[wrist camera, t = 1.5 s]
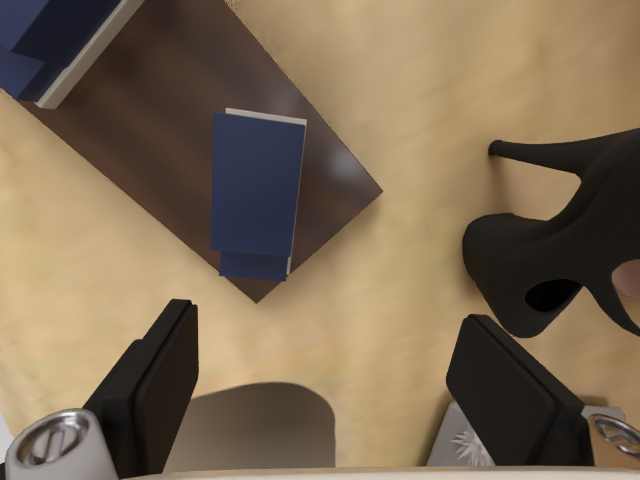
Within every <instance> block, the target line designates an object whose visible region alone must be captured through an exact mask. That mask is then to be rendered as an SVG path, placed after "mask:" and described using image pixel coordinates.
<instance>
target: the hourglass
mask: <svg viewBox="0 0 640 480" xmlns="http://www.w3.org/2000/svg"><path fill="white" fill-rule="evenodd" d="M612 283H613V285H614V286H615V289H616V292H617V293H619V294H622V295H625V296H628V297H632V298H635V299H639V300H640V259H636V260H632V261H628V262H625V263H623V264H621V265H620V266H619V267H617V268H616V269H615V270H614V272H613V273H612Z"/></svg>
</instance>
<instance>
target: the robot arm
mask: <svg viewBox="0 0 640 480" xmlns="http://www.w3.org/2000/svg"><path fill="white" fill-rule="evenodd" d="M198 373H199V361H198V308H197V305H193V304H192V302H191V300H183V299H172V300H171V301H170V302H169V303H168V305H167V306H166V307H165V309H164V310H163V312H162V313H161V314H160V316H159V317H158V318H157V320H156V321H155V322H154V324H153V325H152V327H151V328H150V329H149V331H148V332H147V333H146V335H145V336H144V337H143V339H137V340H135V341H134V342H133V343H132V344H131V345H130V346H129V347H128V349H127V350H126V351H125V353H124V354H123V355H122V356H121V358H120V359H119V360H118V362H117V363H116V364H115V366H114V367H113V368H112V369H111V371H110V372H109V373H108V375H107V376H106V377H105V379H104V380H103V381H102V382H101V384H100V385H99V386H98V388H97V389H96V390H95V392H94V393H93V394H92V395H91V397H90V398H89V399H88V401H87V402H86V403H85V405H84V406H83V407H82V408H81V409H80V408H73V409H66V410H61V411H58V412H55V413H52V414H50V415H48V416H46V417H44V418H42V419H40V420H38V421H36V422H34V423H33V424H32V425H30V426H29V427H27V428H26V429H24V430H23V431H22V432H21V433H20V434H19V435H18V436H17V437H16V438H15V439H14V440H13V442H12V443H11V445H10V447H9V448H8V450H7V453H6V457H5V462H4V463H2V464H0V480H640V431H638V430H637V429H635V428H634V427H632V426H630V425H629V424H627V423H625V422H623V421H621V420H619V419H617V418H614V417H611V416H608V415H604V414H599V413H598V414H591V415H590V416H588V418H587V419H586V418H585V417H584V416H582V415H581V413H582V411H583V409H584V407H585V404H584V403H583V402H582V401H581V400H580V399H579V398H578V397H576V396H575V395H574V394H573V393H572V392H571V391H570V390H569V389H568V388H567V387H565V386H564V385H563V384H562V383H561V382H560V381H559V380H558V379H557V378H556V377H555V376H553V375H552V374H551V373H550V372H549V371H548V370H547V369H546V368H545V367H544V366H543V365H541V364H540V363H539V362H538V361H537V360H536V359H535V358H534V357H533V356H532V355H531V354H529V353H528V352H527V351H526V350H525V349H524V348H523V347H522V346H521V345H520V344H519V343H517V342H516V341H515V340H514V339H513V338H512V337H511V336H510V335H509V334H508V333H506V332H505V331H504V330H503V329H502V328H501V327H500V326H499V325H498V324H497V323H496V322H494V321H493V320H492V319H491V318H490V317H489V316H487V315H479V314H470V315H468V316H467V318H464V320H463V322H462V325H461V328H460V332H459V335H458V338H457V342H456V345H455V349H454V352H453V355H452V359H451V362H450V366H449V369H448V372H447V376H446V384H447V387H448V389H449V391H450V392H451V394H452V396H453V397H454V399H455V401H456V402H457V404H458V405H459V407H460V409H461V410H462V412H463V413H464V415H465V417H466V418H467V420H468V422H469V423H470V425H471V426H472V428H473V430H474V431H475V433H476V434H477V436H478V438H479V439H480V441H481V443H482V444H483V446H484V447H485V449H486V451H487V452H488V454H489V455H490V457H491V459H492V460H493V462H494V464H495V465H496V466H432V467H351V468H303V469H302V468H299V469H248V470H221V471H194V472H179V473H166V474H162V472H163V469H164V466H165V464H166V461H167V459H168V456H169V454H170V451H171V448H172V446H173V443H174V441H175V438H176V435H177V433H178V430H179V428H180V425H181V422H182V420H183V417H184V415H185V411H186V409H187V407H188V404H189V401H190V399H191V396H192V394H193V391H194V388H195V386H196V383H197V379H198Z"/></svg>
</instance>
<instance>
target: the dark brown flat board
mask: <svg viewBox="0 0 640 480" xmlns="http://www.w3.org/2000/svg"><path fill="white" fill-rule="evenodd" d="M3 90H4V89H3ZM4 91H5V90H4ZM9 95H10V94H9ZM10 96H11V95H10ZM11 97H12V96H11ZM15 100H16V99H15ZM16 101H17V102H19V103H20V104H21V105H22V106H23V107H25V108H26V109H27V110H28V111H29V112H30V113H32V114H33V115H34V116H35V117H36V118H38V119H39V120H40V121H41V122H42V123H43V124H45V125H46V126H47V127H48V128H49V129H51V130H52V131H53V132H54V133H55V134H56V135H58V136H59V137H60V138H61V139H62V140H64V141H65V142H66V143H67V144H68V145H69V146H71V147H72V148H73V149H74V150H75V151H77V152H78V153H79V154H80V155H81V156H82V157H84V158H85V159H86V160H87V161H88V162H90V163H91V164H92V165H93V166H94V167H95V168H97V169H98V170H99V171H100V172H101V173H103V174H104V175H105V176H106V177H107V178H108V179H110V180H111V181H112V182H113V183H114V184H116V185H117V186H118V187H119V188H120V189H121V190H123V191H124V192H125V193H126V194H127V195H129V196H130V197H131V198H132V199H133V200H134V201H136V202H137V203H138V204H139V205H140V206H142V207H143V208H144V209H145V210H146V211H147V212H149V213H150V214H151V215H152V216H153V217H155V218H156V219H157V220H158V221H159V222H160V223H162V224H163V225H164V226H165V227H166V228H168V229H169V230H170V231H171V232H172V233H173V234H175V235H176V236H177V237H178V238H179V239H181V240H182V241H183V242H184V243H185V244H186V245H188V246H189V247H190V248H191V249H192V250H194V251H195V252H196V253H197V254H198V255H199V256H201V257H202V258H203V259H204V260H205V261H207V262H208V263H209V264H210V265H211V266H212V267H214V268H215V269H216V270H217V271H218V272H219V268H220V251H218V250H211V249H210V248H211V204H212V160H213V117H214V112H221V113H226V108H231V109H237V110H244V111H251V112H258V113H264V114H271V115H278V116H284V117H291V118H298V119H305V120H307V123H306V132H305V140H304V149H303V158H302V167H301V176H300V185H299V193H298V202H297V211H296V220H295V229H294V237H293V246H292V255H291V264H290V273H289V275H290V274H291V273H292V272H293V271H294V270H295V269H296V268H298V267H299V266H300V265H301V264H302V263H303V262H304V261H306V260H307V259H308V258H309V257H310V256H311V255H312V254H313V253H315V252H316V251H317V250H318V249H319V248H320V247H321V246H323V245H324V244H325V243H326V242H327V241H328V240H329V239H330V238H332V237H333V236H334V235H335V234H336V233H337V232H338V231H339V230H341V229H342V228H343V227H344V226H345V225H346V224H347V223H349V222H350V221H351V220H352V219H353V218H354V217H355V216H356V215H358V214H359V213H360V212H361V211H362V210H363V209H364V208H366V207H367V206H368V205H369V204H370V203H371V202H372V201H373V200H375V199H376V198H377V197H378V196H379V195H380V194H381V193H383V190H382V189H381V188H380V187H379V185H378V184H377V183H376V182H375V181H374V179H373V178H372V177H371V176H370V175H369V173H368V172H367V171H366V170H365V169H364V167H363V166H362V165H361V164H360V163H359V161H358V160H357V159H356V158H355V157H354V156H353V154H352V153H351V152H350V151H349V150H348V148H347V147H346V146H345V145H344V144H343V142H342V141H341V140H340V139H339V138H338V136H337V135H336V134H335V133H334V132H333V130H332V129H331V128H330V127H329V126H328V124H327V123H326V122H325V121H324V120H323V118H322V117H321V116H320V115H319V114H318V113H317V111H316V110H315V109H314V108H313V107H312V105H311V104H310V103H309V102H308V101H307V99H306V98H305V97H304V96H303V95H302V93H301V92H300V91H299V90H298V89H297V87H296V86H295V85H294V84H293V83H292V81H291V80H290V79H289V78H288V77H287V75H286V74H285V73H284V72H283V71H282V70H281V68H280V67H279V66H278V65H277V64H276V62H275V61H274V60H273V59H272V58H271V56H270V55H269V54H268V53H267V52H266V50H265V49H264V48H263V47H262V46H261V44H260V43H259V42H258V41H257V40H256V38H255V37H254V36H253V35H252V34H251V32H250V31H249V30H248V29H247V28H246V27H245V25H244V24H243V23H242V22H241V21H240V19H239V18H238V17H237V16H236V15H235V13H234V12H233V11H232V10H231V9H230V7H229V6H228V5H227V4H226V3H225V1H224V0H145V1H144V2H143V3H142V4H141V6H140V7H139V8H138V9H137V11H136V12H135V13H134V14H133V15H132V17H131V18H130V19H129V20H128V21H127V23H126V24H125V25H124V26H123V28H122V29H121V30H120V31H119V32H118V34H117V35H116V36H115V37H114V39H113V40H112V41H111V42H110V43H109V45H108V46H107V47H106V48H105V49H104V51H103V52H102V53H101V54H100V56H99V57H98V58H97V59H96V60H95V62H94V63H93V64H92V65H91V67H90V68H89V69H88V70H87V71H86V73H85V74H84V75H83V76H82V77H81V79H80V80H79V81H78V82H77V84H76V85H75V86H74V87H73V88H72V90H71V91H70V92H69V93H68V95H67V96H66V97H65V98H64V99H63V101H62V102H61V103H60V104H59V105H58V107H57V108H56V109H46V108H40V107H38V106H37V105H36V104H35V103H34V102H30V101H22V100H16ZM289 275H288V274H286V277H287V276H289ZM224 277H225V278H227V279H228V280H229V281H230V282H231V283H233V284H234V285H235V286H236V287H237V288H238V289H240V290H241V291H242V292H243V293H244V294H246V295H247V296H248V297H249V298H250V299H251V300H253V301H254V302H255V303H256V304H257V303H258V302H259V301H260V300H261V299H262V298H264V297H265V296H266V295H267V294H268V293H269V292H270V291H272V290H273V289H274V288H275V287H276V286H277V285H278V284H279V283H281V282H282V281H274V280H262V279H251V278H239V277H227V276H224Z"/></svg>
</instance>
